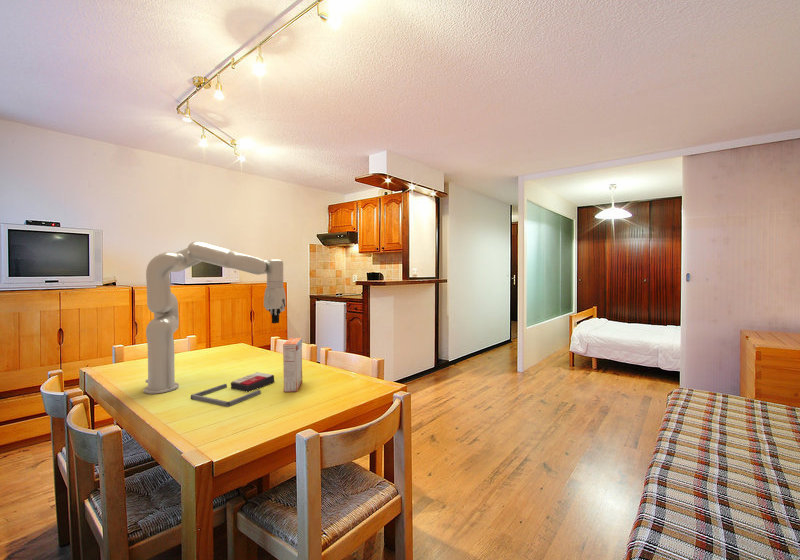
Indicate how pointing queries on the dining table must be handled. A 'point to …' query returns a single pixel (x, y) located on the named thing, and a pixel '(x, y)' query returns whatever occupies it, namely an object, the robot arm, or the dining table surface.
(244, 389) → the black flat box
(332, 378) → the dining table surface
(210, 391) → the frame
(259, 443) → the dining table surface
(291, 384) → the cracker box
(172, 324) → the robot arm
